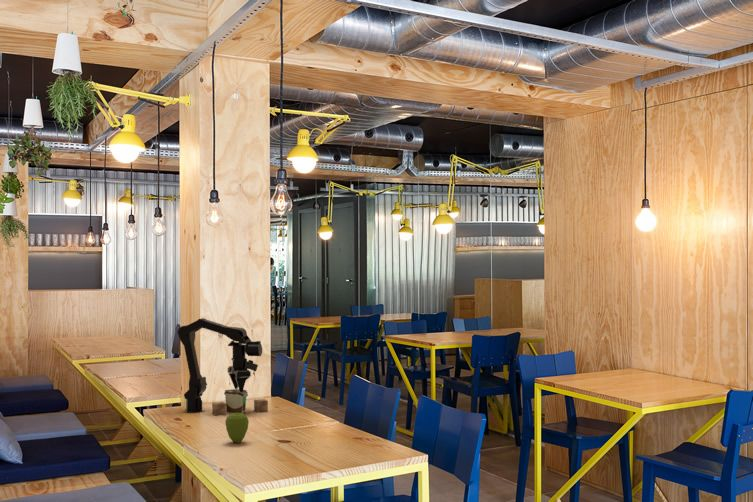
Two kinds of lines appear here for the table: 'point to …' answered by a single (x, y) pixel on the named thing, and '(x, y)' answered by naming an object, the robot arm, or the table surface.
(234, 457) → the table surface
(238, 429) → the green tapered egg
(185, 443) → the table surface
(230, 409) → the food container
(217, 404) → the dotted block left
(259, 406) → the dotted block right
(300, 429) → the table surface
